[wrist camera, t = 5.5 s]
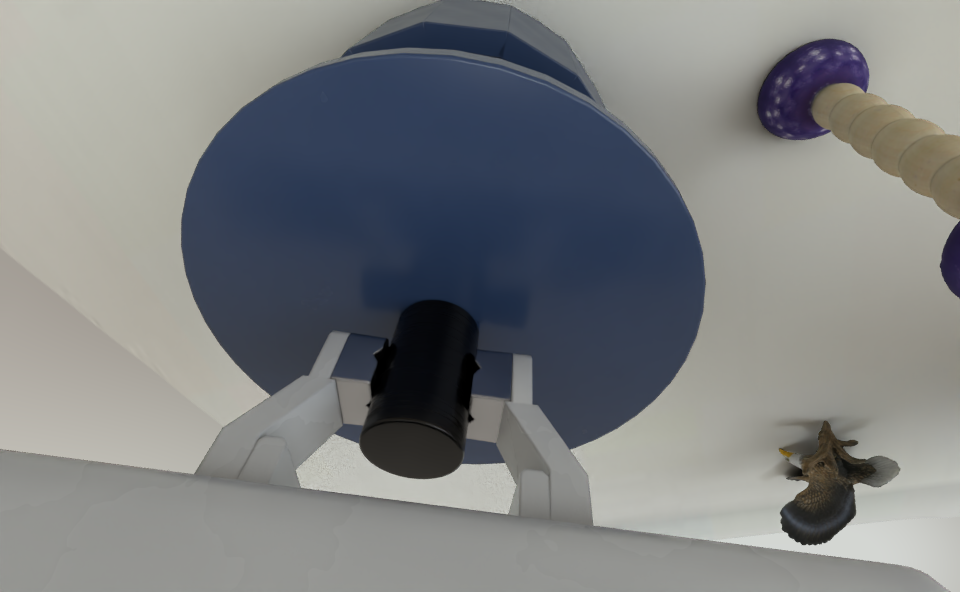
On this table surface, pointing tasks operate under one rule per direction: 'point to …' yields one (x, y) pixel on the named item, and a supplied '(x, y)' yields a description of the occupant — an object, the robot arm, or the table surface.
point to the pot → (483, 38)
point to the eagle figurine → (830, 488)
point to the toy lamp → (864, 127)
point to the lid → (444, 246)
